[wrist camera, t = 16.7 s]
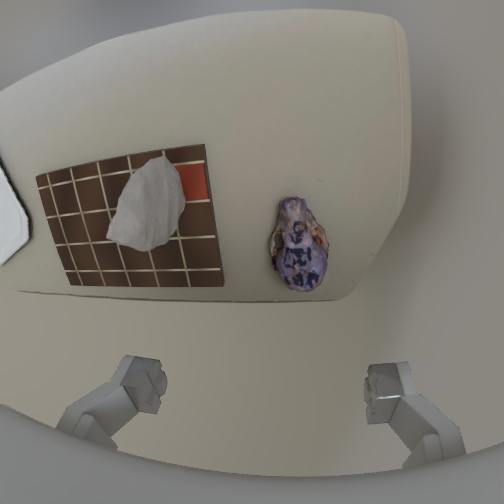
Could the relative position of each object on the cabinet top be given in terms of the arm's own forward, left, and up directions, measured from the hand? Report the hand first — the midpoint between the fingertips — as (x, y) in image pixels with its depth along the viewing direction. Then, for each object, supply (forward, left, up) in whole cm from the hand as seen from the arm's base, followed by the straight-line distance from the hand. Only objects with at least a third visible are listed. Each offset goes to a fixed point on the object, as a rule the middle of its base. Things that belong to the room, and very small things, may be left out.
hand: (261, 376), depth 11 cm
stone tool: (+12, +3, -29) cm, 31 cm away
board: (+21, +10, -30) cm, 38 cm away
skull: (-4, +8, -30) cm, 31 cm away
